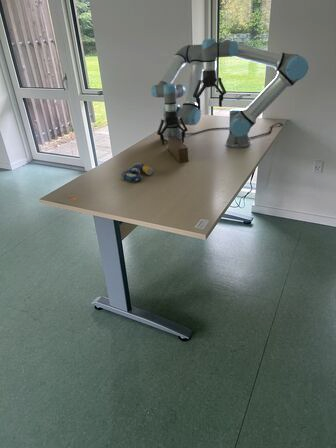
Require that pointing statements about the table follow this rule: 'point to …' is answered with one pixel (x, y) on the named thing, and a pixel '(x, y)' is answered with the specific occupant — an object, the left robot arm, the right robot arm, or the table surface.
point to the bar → (178, 148)
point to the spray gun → (136, 172)
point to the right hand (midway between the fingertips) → (209, 108)
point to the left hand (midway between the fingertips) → (173, 143)
